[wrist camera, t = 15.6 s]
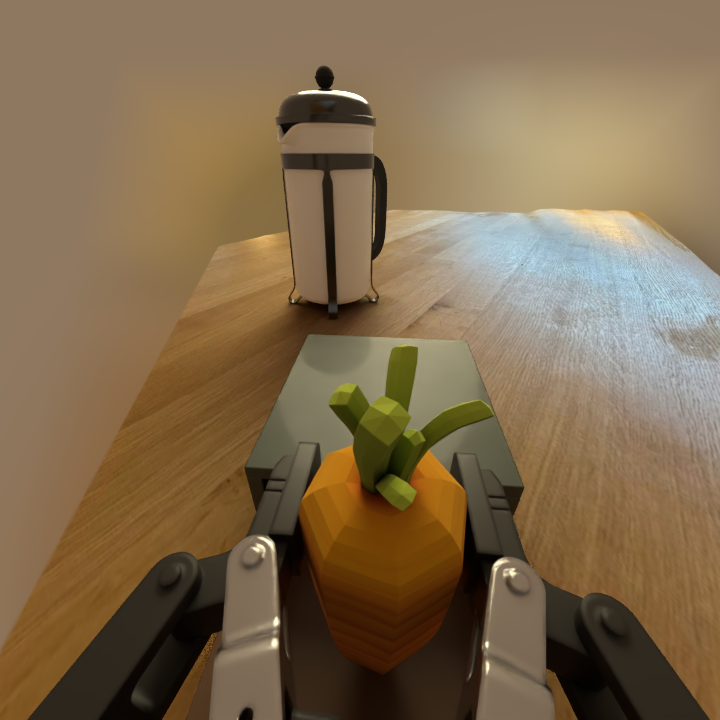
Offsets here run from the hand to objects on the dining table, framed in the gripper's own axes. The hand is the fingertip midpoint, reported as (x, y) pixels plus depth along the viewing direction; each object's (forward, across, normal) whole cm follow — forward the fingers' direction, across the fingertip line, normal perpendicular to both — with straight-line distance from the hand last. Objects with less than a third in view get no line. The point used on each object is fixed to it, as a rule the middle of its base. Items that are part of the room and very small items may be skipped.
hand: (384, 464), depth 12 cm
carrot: (-3, 0, +9) cm, 10 cm away
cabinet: (+9, 0, +11) cm, 15 cm away
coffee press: (+44, +9, +11) cm, 47 cm away
